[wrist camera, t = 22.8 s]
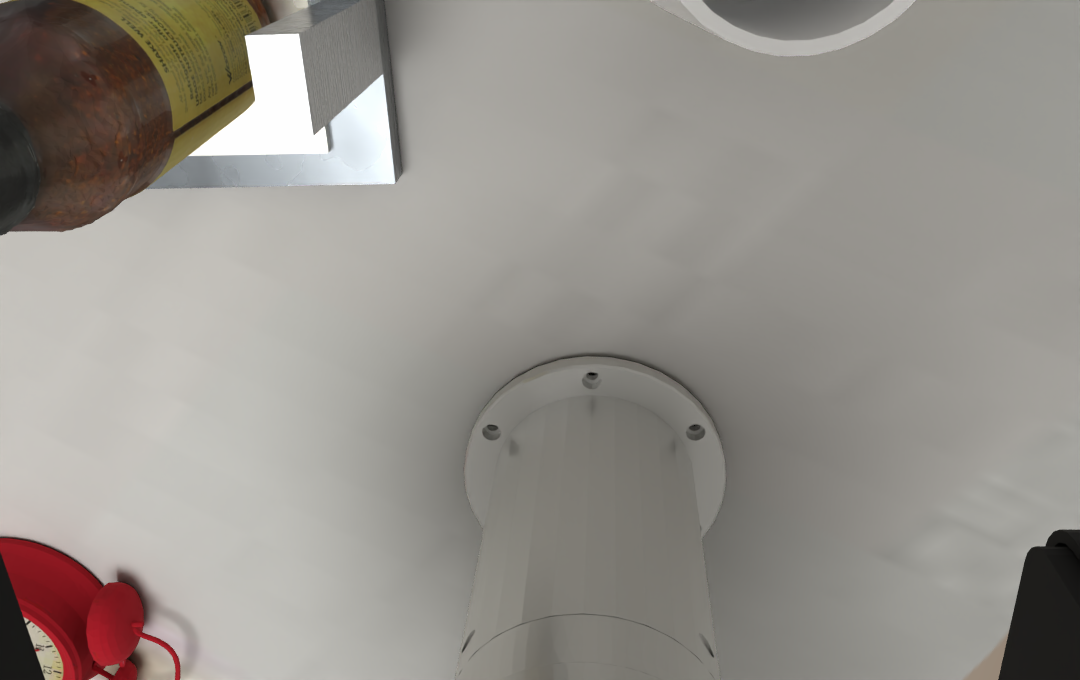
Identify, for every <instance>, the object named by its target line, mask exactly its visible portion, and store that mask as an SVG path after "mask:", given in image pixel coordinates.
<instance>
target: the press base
mask: <svg viewBox="0 0 1080 680" xmlns="http://www.w3.org/2000/svg"><path fill="white" fill-rule="evenodd" d="M261 2H262V4H263V6H264V7H265V10H266V12H267V16H268V18H269V21H270V24H269V25H267V26H265V27H263V28H261V29H259V30H256V31H254V32H252V33H250V34H248V35H245V39H246V45H247V51H248V57H249V63H250V69H251V75H252V81H253V87H254V93H255V99H256V100H255V101H254V103H253V104H252V105H251V106H250V107H249V108H248V109H247V110H246V111H245V112H244V113H243V114H241V115H240V116H239V117H238V118H236V119H235V120H234V121H232V122H231V123H230V124H229V125H227V126H226V127H225V128H223V129H222V130H221V131H219V132H218V133H217V134H216V135H214V136H213V137H212V138H210V139H209V140H208V141H206V142H205V143H204V144H203V145H201V146H200V147H199V148H197V149H196V150H195V151H194V152H192V153H191V154H190V155H188V156H187V157H186V158H185V159H183V160H182V161H181V162H179V163H178V164H177V165H176V166H174V167H173V168H172V169H170V170H169V171H168V172H167V173H165V174H164V175H163V176H161V177H160V178H159V179H158V180H156V181H155V182H154V183H152V184H151V185H150V186H149V187H147V188H146V189H162V188H212V187H262V186H312V185H362V184H395V183H396V182H397V181H398V179H399V178H400V176H401V175H402V166H401V157H400V147H399V138H398V128H397V119H396V109H395V100H394V90H393V81H392V71H391V62H390V52H389V43H388V33H387V24H386V14H385V5H384V0H261Z"/></svg>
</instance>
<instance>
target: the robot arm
mask: <svg viewBox="0 0 1080 680" xmlns="http://www.w3.org/2000/svg"><path fill="white" fill-rule="evenodd" d="M589 372H594V373H597V374H596V375H593V376H591V375H589V374H588V373H589ZM490 424H492V425H496V426H491V425H490ZM695 424H697V426H691V425H695ZM464 479H465V490H466V493H467V497H468V500H469V503H470V506H471V509H472V511H473V513H474V515H475V517H476V518H477V520H478V522H479V524H480V525H481V527H482V529H483V535H482V541H481V546H480V551H479V556H478V561H477V566H476V572H475V577H474V582H473V587H472V592H471V597H470V603H469V608H468V613H467V618H466V623H465V628H464V634H463V639H462V644H461V649H460V654H459V659H458V665H457V670H456V675H455V680H721V678H720V671H719V663H718V656H717V648H716V641H715V634H714V626H713V619H712V611H711V604H710V596H709V589H708V581H707V574H706V566H705V559H704V552H703V544H702V539H703V538H704V536H705V535H706V533H707V532H708V530H709V529H710V527H711V526H712V525H713V523H714V522H715V520H716V517H717V515H718V512H719V510H720V507H721V505H722V503H723V498H724V492H725V486H726V468H725V458H724V453H723V448H722V444H721V440H720V437H719V435H718V433H717V430H716V428H715V426H714V423H713V421H712V419H711V418H710V416H709V415H708V414H707V412H706V411H705V409H704V408H703V406H702V405H701V404H700V402H699V401H698V400H697V399H696V398H695V397H694V396H693V395H691V394H690V393H689V392H688V391H687V390H686V389H685V388H684V387H683V386H682V385H680V384H679V383H677V382H676V381H674V380H672V379H671V378H669V377H668V376H666V375H664V374H663V373H661V372H659V371H657V370H654V369H652V368H649V367H647V366H644V365H642V364H639V363H636V362H632V361H627V360H622V359H617V358H613V357H591V356H584V357H576V358H569V359H561V360H557V361H554V362H551V363H548V364H545V365H542V366H538V367H535V368H534V369H532V370H530V371H528V372H526V373H524V374H522V375H520V376H518V377H517V378H515V379H513V380H512V381H511V382H510V383H508V384H507V385H506V386H505V387H503V388H502V389H501V390H500V391H498V392H497V393H496V394H495V395H494V396H493V398H492V399H491V400H490V401H489V403H488V404H487V405H486V406H485V407H484V409H483V410H482V411H481V413H480V415H479V417H478V419H477V421H476V423H475V425H474V427H473V429H472V431H471V435H470V439H469V442H468V445H467V449H466V456H465V463H464ZM0 680H45V677H44V674H43V671H42V668H41V666H40V663H39V660H38V657H37V654H36V651H35V649H34V646H33V643H32V640H31V637H30V634H29V632H28V629H27V626H26V623H25V620H24V617H23V615H22V612H21V609H20V606H19V603H18V600H17V598H16V595H15V592H14V589H13V586H12V583H11V581H10V578H9V575H8V572H7V569H6V566H5V564H4V561H3V558H2V555H1V552H0ZM998 680H1080V530H1057V531H1054V532H1053V533H1052V534H1051V536H1050V537H1049V538H1048V541H1047V543H1046V546H1045V547H1033V548H1031V549H1030V550H1029V552H1028V553H1027V556H1026V559H1025V563H1024V567H1023V572H1022V576H1021V580H1020V585H1019V589H1018V594H1017V598H1016V603H1015V607H1014V612H1013V616H1012V621H1011V625H1010V630H1009V634H1008V639H1007V644H1006V648H1005V653H1004V657H1003V661H1002V666H1001V670H1000V675H999V679H998Z"/></svg>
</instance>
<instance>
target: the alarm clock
mask: <svg viewBox="0 0 1080 680" xmlns="http://www.w3.org/2000/svg"><path fill="white" fill-rule="evenodd" d="M0 552H1V555H2V558H3V561H4V564H5V566H6V569H7V572H8V575H9V578H10V581H11V583H12V586H13V589H14V592H15V595H16V598H17V600H18V603H19V606H20V609H21V612H22V615H23V617H24V620H25V623H26V626H27V629H28V632H29V634H30V637H31V640H32V643H33V646H34V649H35V651H36V654H37V657H38V660H39V663H40V666H41V668H42V671H43V674H44V677H45V680H89V679H91V678H93V677H94V676H96V675H97V674H101V675H103V676H105V677H106V678H108V679H109V680H136V679H137V669H136V667H135V665H134V664H133V663H132V662H131V661H129V660H128V659H127V658H128V657H129V656H130V655H131V654H132V652H133V651H134V650H135V648H136V646H137V645H138V642H139V640H140V637H142V638H144V639H147V640H150V641H152V642H155V643H157V644H159V645H161V646H162V647H164V648H165V649H167V651H168V652H169V653H170V654H171V655H172V657H173V660H174V663H175V670H176V673H175V680H180V662H179V658H178V656H177V654H176V652H175V651H174V649H173V648H172V647H171V646H170V645H168V644H167V643H166V642H164V641H162V640H160V639H159V638H156V637H153V636H151V635H148V634H145V633H143V632H142V631H143V626H144V611H143V607H142V603H141V600H140V597H139V595H138V593H137V592H136V590H135V589H134V588H133V587H131V586H130V585H128V584H126V583H121V582H115V583H108V584H106V585H105V586H104V587H102V585H101V584H100V583H99V582H98V581H97V580H96V579H95V578H94V577H93V576H92V575H91V574H90V573H89V572H88V571H87V570H86V569H85V568H83V567H82V566H81V565H80V564H78V563H76V562H75V561H73V560H72V559H70V558H69V557H67V556H65V555H63V554H61V553H59V552H57V551H55V550H53V549H51V548H48V547H45V546H43V545H40V544H37V543H33V542H29V541H25V540H18V539H11V538H0ZM118 663H119V666H120V667H119V669H118V671H117V672H116V674H115V676H114V675H112V674H110V673H108V672H107V671H105V670H103V669H104V668H105V667H106V666H110V665H115V664H118Z"/></svg>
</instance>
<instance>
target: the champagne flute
mask: <svg viewBox="0 0 1080 680" xmlns="http://www.w3.org/2000/svg"><path fill="white" fill-rule="evenodd" d="M650 1H651V2H653V3H654V4H656V5H657V6H659V7H660V8H662V9H663V10H665V11H667V12H669V13H671V14H673V15H675V16H677V17H679V18H681V19H683V20H685V21H687V22H689V23H691V24H693V25H695V26H697V27H699V28H701V29H703V30H705V31H707V32H710V33H712V34H714V35H716V36H718V37H720V38H722V39H724V40H726V41H728V42H731V43H733V44H735V45H738V46H740V47H743V48H745V49H748V50H750V51H753V52H759V53H764V54H770V55H776V56H781V57H783V56H812V55H817V54H821V53H826V52H830V51H834V50H839V49H842V48H844V47H847V46H849V45H851V44H854V43H856V42H858V41H861V40H863V39H865V38H868V37H870V36H871V35H873V34H874V33H876V32H878V31H879V30H881V29H882V28H884V27H885V26H887V25H888V24H890V23H891V22H893V21H894V20H896V19H897V18H898V17H899V16H900V15H901V14H902V13H904V12H905V11H906V10H907V9H908V8H909V7H910V6H911V5H912V4H913V3H914V2H915V1H916V0H650Z"/></svg>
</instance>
